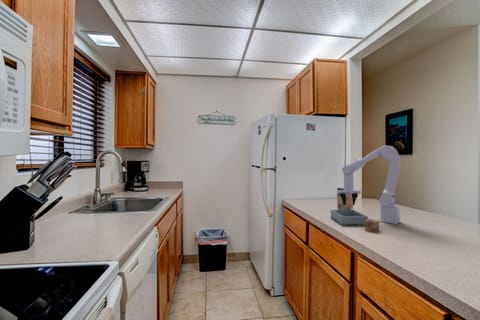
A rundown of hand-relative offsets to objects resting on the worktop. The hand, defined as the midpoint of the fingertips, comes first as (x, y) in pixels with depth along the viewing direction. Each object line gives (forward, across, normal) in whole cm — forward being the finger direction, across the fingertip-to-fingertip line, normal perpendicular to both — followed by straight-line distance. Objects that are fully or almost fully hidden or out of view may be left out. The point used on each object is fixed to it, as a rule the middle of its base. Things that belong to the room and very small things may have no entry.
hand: (348, 205), depth 158 cm
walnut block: (+7, +2, +32) cm, 33 cm away
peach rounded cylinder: (+2, 0, 0) cm, 2 cm away
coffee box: (+7, -2, -14) cm, 15 cm away
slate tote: (+7, +6, +15) cm, 18 cm away
